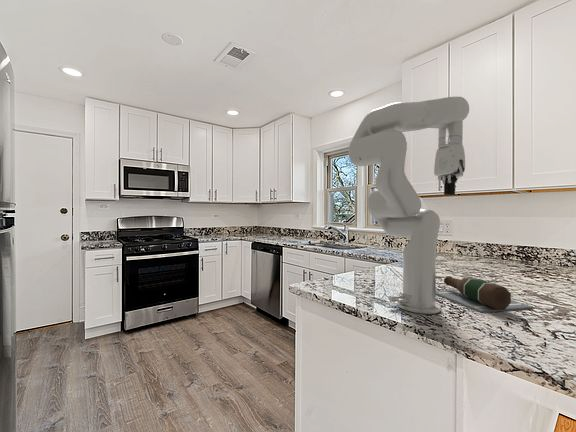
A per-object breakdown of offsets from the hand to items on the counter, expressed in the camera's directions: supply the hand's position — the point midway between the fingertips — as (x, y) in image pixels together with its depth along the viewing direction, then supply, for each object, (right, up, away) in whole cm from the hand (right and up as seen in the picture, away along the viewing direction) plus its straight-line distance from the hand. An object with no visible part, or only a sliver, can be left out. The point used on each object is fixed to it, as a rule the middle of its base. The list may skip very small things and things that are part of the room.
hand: (449, 194), depth 101 cm
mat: (+8, -37, -2) cm, 38 cm away
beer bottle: (+7, -33, -15) cm, 37 cm away
